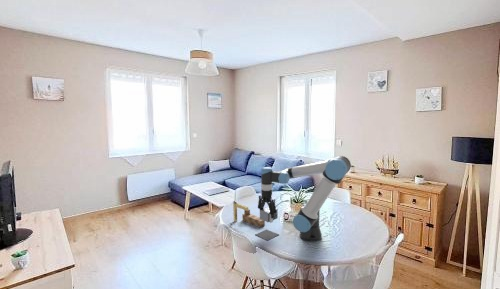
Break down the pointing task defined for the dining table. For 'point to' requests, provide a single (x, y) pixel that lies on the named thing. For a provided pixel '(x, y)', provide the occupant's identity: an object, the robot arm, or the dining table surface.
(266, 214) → the light grey block
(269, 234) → the mat
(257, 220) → the plane body
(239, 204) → the tan wooden flat frame
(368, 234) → the dining table surface
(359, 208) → the dining table surface
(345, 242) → the dining table surface
